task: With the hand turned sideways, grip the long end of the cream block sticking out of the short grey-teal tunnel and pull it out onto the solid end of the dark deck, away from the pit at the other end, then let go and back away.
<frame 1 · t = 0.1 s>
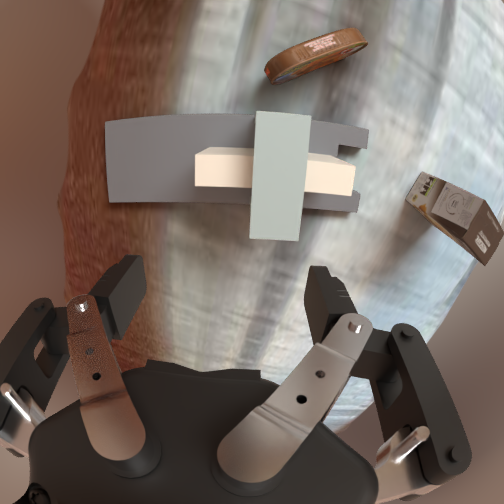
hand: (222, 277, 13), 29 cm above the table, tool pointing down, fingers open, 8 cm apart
block: (270, 161, 36), point 2 cm above the table, touching deck
deck: (242, 158, 38), on the table
tunnel: (269, 159, 38), resting on deck
coffee box: (427, 198, 40), on the table
tin: (310, 61, 31), on the table
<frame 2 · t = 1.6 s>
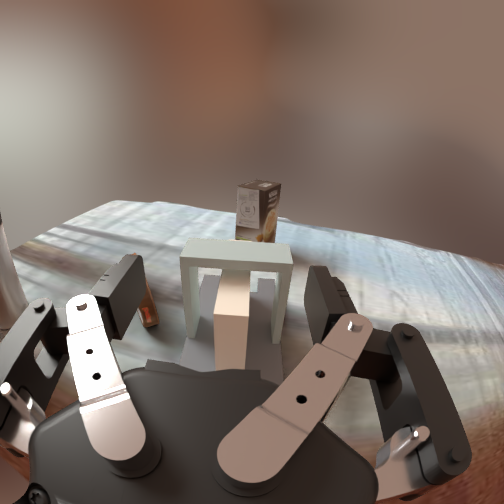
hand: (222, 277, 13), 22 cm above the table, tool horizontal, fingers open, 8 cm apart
block: (234, 329, 38), point 2 cm above the table, touching deck
deck: (232, 359, 35), on the table
tunnel: (233, 339, 39), resting on deck
coffee box: (255, 251, 65), on the table
tin: (142, 309, 43), on the table
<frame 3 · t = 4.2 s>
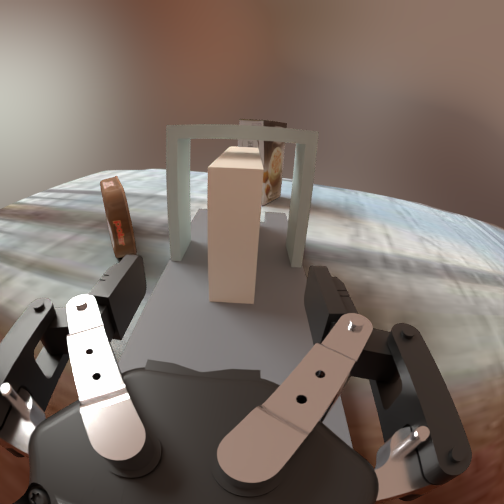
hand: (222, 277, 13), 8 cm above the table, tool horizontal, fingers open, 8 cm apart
block: (236, 252, 28), point 2 cm above the table, touching deck
deck: (234, 290, 25), on the table
tunnel: (236, 269, 29), resting on deck
coffee box: (258, 199, 55), on the table
tin: (119, 244, 33), on the table
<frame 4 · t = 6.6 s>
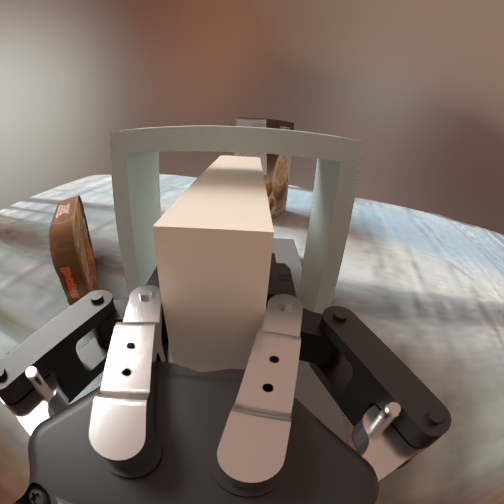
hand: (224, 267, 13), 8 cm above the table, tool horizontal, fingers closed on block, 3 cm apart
block: (229, 313, 19), point 2 cm above the table, touching deck, gripper
deck: (225, 373, 17), on the table
tunnel: (229, 333, 20), resting on deck
coffee box: (260, 214, 46), on the table
tin: (84, 283, 25), on the table
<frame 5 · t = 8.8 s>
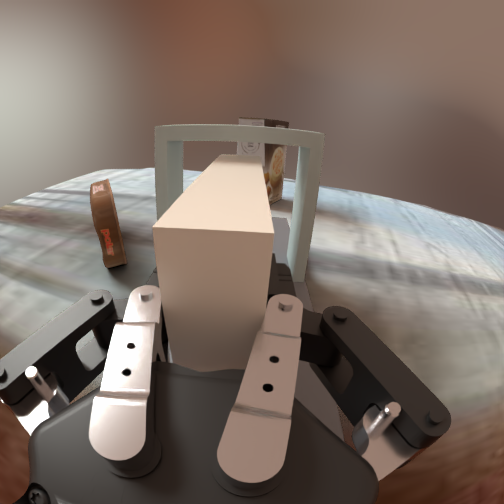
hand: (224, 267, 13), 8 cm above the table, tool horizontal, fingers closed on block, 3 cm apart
block: (229, 312, 19), point 2 cm above the table, touching gripper
deck: (230, 307, 23), on the table
tunnel: (233, 282, 27), resting on deck
coffee box: (259, 201, 53), on the table
tin: (111, 252, 31), on the table
when the fingers open (8 cm above the table, at t = 11.2 s): block stays where it is, resting on deck.
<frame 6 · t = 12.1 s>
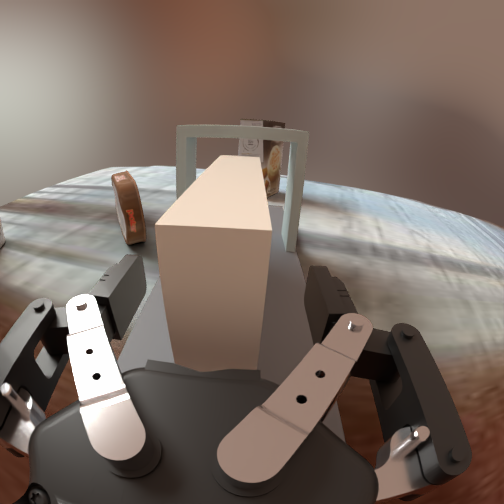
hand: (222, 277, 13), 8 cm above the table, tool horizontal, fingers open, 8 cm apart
block: (228, 311, 20), point 2 cm above the table, touching deck
deck: (234, 271, 29), on the table
tunnel: (236, 254, 32), resting on deck
coffee box: (258, 194, 58), on the table
tin: (129, 233, 36), on the table
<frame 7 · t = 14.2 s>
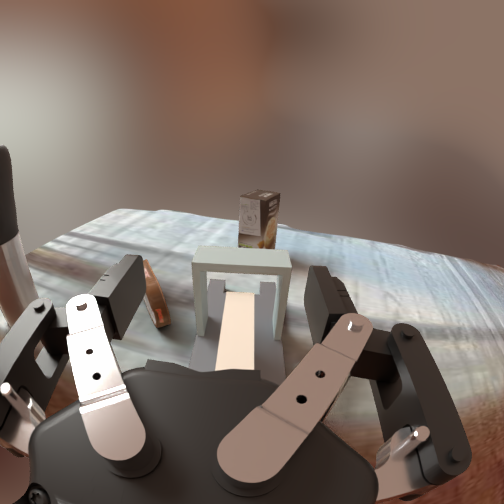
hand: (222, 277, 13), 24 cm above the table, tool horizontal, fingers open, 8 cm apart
block: (235, 395, 30), point 2 cm above the table, touching deck
deck: (238, 354, 39), on the table
tunnel: (239, 336, 43), resting on deck
coffee box: (256, 257, 69), on the table
tin: (153, 311, 47), on the table
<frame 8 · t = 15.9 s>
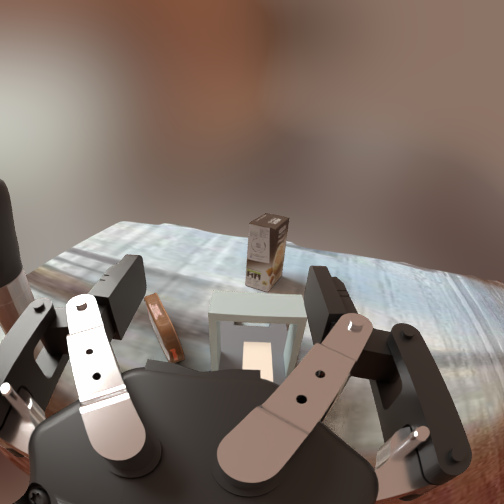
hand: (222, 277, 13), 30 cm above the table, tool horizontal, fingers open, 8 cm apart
block: (252, 434, 30), point 2 cm above the table, touching deck
deck: (251, 390, 39), on the table
tunnel: (251, 371, 42), resting on deck
coffee box: (264, 281, 68), on the table
tin: (165, 344, 47), on the table
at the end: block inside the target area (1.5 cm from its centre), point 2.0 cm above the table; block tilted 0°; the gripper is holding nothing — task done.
